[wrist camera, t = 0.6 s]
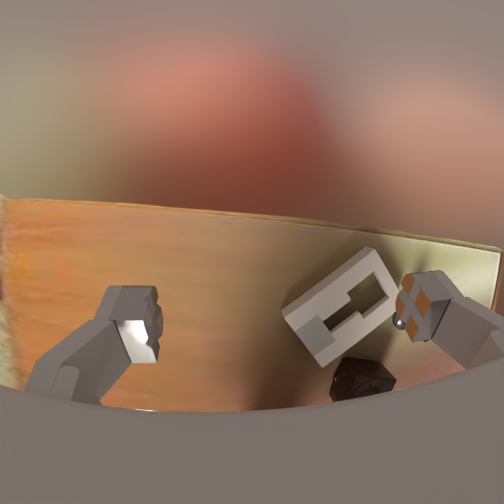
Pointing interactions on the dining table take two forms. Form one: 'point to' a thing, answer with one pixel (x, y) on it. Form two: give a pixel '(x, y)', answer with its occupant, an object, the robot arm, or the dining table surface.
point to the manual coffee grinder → (360, 379)
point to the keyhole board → (332, 299)
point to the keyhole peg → (400, 323)
